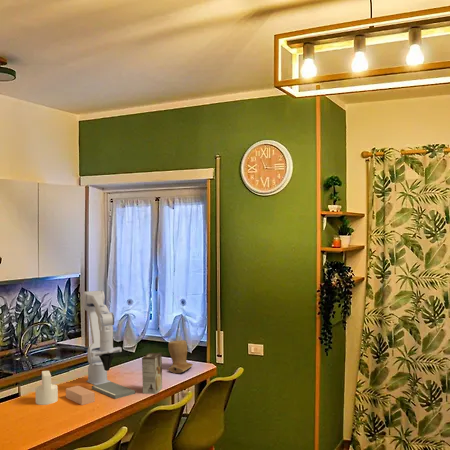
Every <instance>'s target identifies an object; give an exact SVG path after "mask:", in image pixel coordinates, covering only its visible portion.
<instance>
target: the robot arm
mask: <svg viewBox="0 0 450 450" xmlns="http://www.w3.org/2000/svg"><path fill="white" fill-rule="evenodd" d="M105 299H106V298H105V292H104V290H93V291H92V290H90V291H83V292H82V305H83V306H82V307H83V310H84V311H86V312H87V315H88V320H89V326H90V333H91V334H90V335H91V343H92V344H91V345H89V346H88V348H87V362H88V364H89V365H88V367H87V380H86V383H89V384H91V385H92V386H95V385H99V384H103V383H107V382H112V381H111V380H109V379H108V371H110V367H111V364H112V362H113V360H114V357H115V353H121V352H123V351H122V347H121V346H117V347H116V346H115V347H114V332H113V331H114V330H113V329H114V328H113V327H114V325H115V316H114V312H110V310H109V308H108V306H107V305H106V304H105Z"/></svg>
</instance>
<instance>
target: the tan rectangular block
mask: <svg viewBox="0 0 450 450" xmlns="http://www.w3.org/2000/svg"><path fill="white" fill-rule="evenodd" d="M95 393H96V392H95V391H92V390H89V389H88V388H85V387H83V386H81V385H74V386H71V387H67V388H65V398H66V399H68V400H70V401H72V402H74V403H76V404H79V405H81V406H84V405H88V404H93V403H95V402H96V397H95V396H96V395H95Z"/></svg>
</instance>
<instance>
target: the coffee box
mask: <svg viewBox="0 0 450 450" xmlns="http://www.w3.org/2000/svg"><path fill="white" fill-rule="evenodd" d="M162 354H163V353H159V352H158V353H152V352H151V353H150V352H149V353H147V354H146V355H144V356H143V357H142V359H141V362H142V363H141V365H142V366H141V368H142V369H141V371H142V374H141V375H142V394H146V395H147V394H148V395H157V394H158V393H160V391H161V390H162V389H163V363H162V362H163V359H162Z"/></svg>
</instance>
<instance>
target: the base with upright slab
mask: <svg viewBox="0 0 450 450" xmlns="http://www.w3.org/2000/svg"><path fill="white" fill-rule="evenodd" d="M51 374H52V373H51V372H50V370H42V371H41V384H40V385H39V386H36V387H35V404H36V405H39V406H48V405H51V404H54V403H56V402H58V400H59V396H58V395H59V394H58V393H59V391H58V389H59V388H58V385H57V384H53V383H52V375H51Z"/></svg>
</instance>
